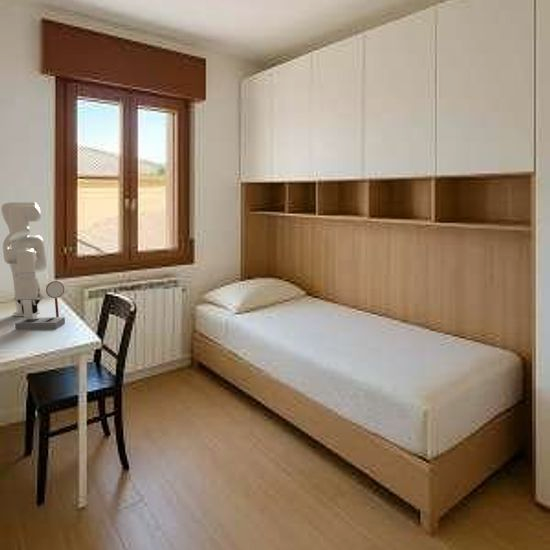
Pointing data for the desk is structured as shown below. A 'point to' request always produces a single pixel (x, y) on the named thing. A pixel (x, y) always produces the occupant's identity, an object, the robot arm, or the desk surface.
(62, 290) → the magnifying glass
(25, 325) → the bore block
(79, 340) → the desk surface
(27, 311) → the square peg
